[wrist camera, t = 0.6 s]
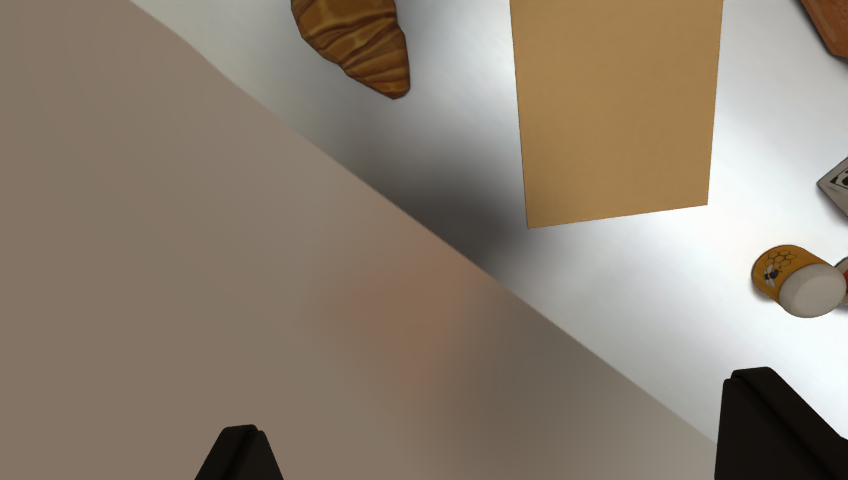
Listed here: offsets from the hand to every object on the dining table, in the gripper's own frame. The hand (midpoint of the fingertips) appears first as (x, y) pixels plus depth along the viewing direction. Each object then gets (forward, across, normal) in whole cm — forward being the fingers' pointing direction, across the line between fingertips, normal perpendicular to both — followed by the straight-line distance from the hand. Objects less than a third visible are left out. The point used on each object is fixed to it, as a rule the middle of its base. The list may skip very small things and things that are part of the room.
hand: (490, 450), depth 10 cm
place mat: (+29, -12, -2) cm, 31 cm away
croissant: (+29, +6, -11) cm, 31 cm away
